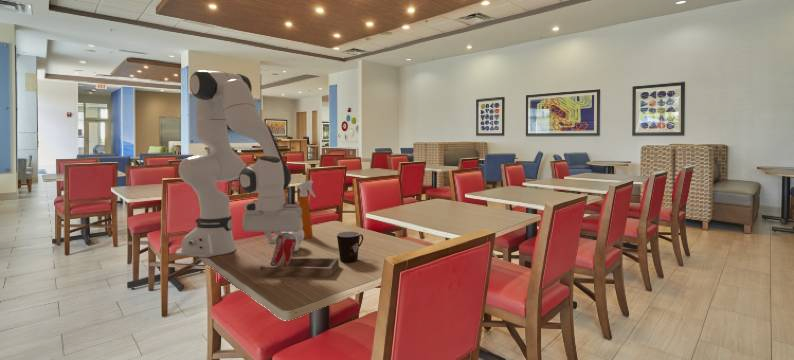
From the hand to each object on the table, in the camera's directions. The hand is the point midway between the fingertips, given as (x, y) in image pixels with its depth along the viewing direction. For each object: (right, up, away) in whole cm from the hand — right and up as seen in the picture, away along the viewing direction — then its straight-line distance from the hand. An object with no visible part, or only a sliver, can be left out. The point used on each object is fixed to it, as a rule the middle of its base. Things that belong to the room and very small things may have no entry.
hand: (273, 243), depth 144 cm
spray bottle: (+2, -4, +48) cm, 48 cm away
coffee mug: (+26, -8, +13) cm, 30 cm away
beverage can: (+1, -9, +1) cm, 9 cm away
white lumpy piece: (-2, -7, +27) cm, 28 cm away
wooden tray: (+9, -9, +1) cm, 13 cm away
